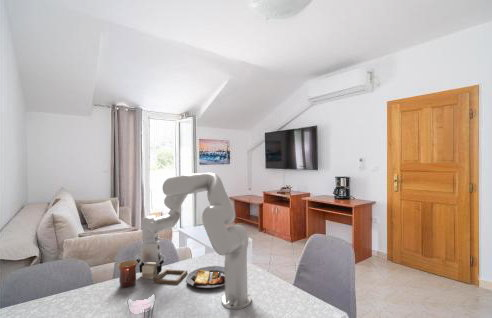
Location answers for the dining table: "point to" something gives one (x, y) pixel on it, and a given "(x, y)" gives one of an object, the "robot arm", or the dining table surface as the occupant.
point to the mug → (127, 273)
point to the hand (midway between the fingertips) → (150, 272)
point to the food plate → (207, 277)
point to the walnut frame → (166, 281)
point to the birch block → (149, 270)
